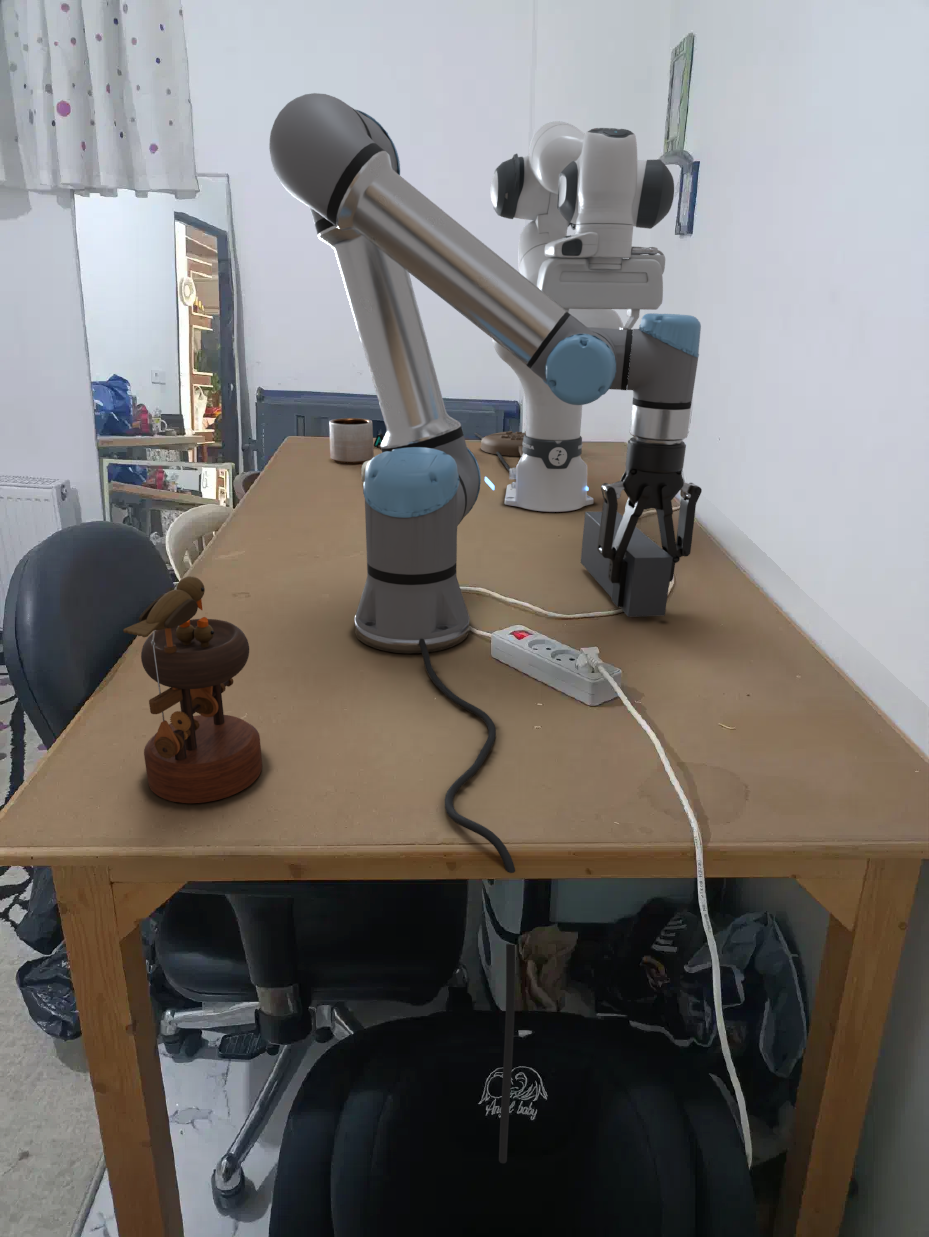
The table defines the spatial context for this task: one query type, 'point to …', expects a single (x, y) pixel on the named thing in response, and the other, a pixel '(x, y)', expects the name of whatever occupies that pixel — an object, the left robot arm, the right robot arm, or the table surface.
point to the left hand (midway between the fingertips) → (637, 602)
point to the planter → (351, 440)
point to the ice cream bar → (503, 443)
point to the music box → (195, 700)
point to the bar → (630, 568)
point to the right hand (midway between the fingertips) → (596, 339)
